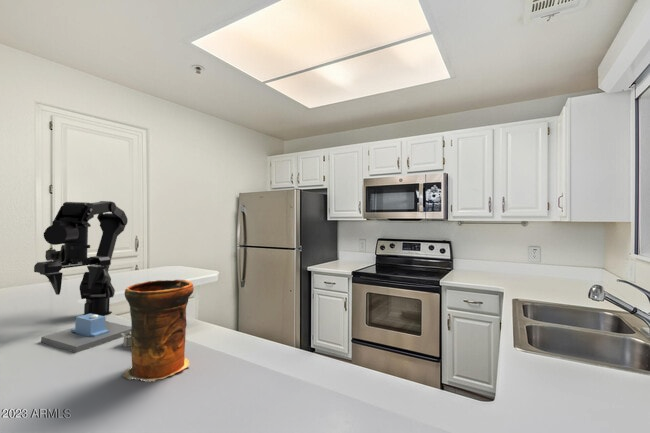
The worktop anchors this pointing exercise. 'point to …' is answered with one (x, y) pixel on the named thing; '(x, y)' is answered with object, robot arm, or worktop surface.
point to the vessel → (158, 328)
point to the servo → (90, 325)
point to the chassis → (84, 338)
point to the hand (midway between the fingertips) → (74, 291)
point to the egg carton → (127, 338)
